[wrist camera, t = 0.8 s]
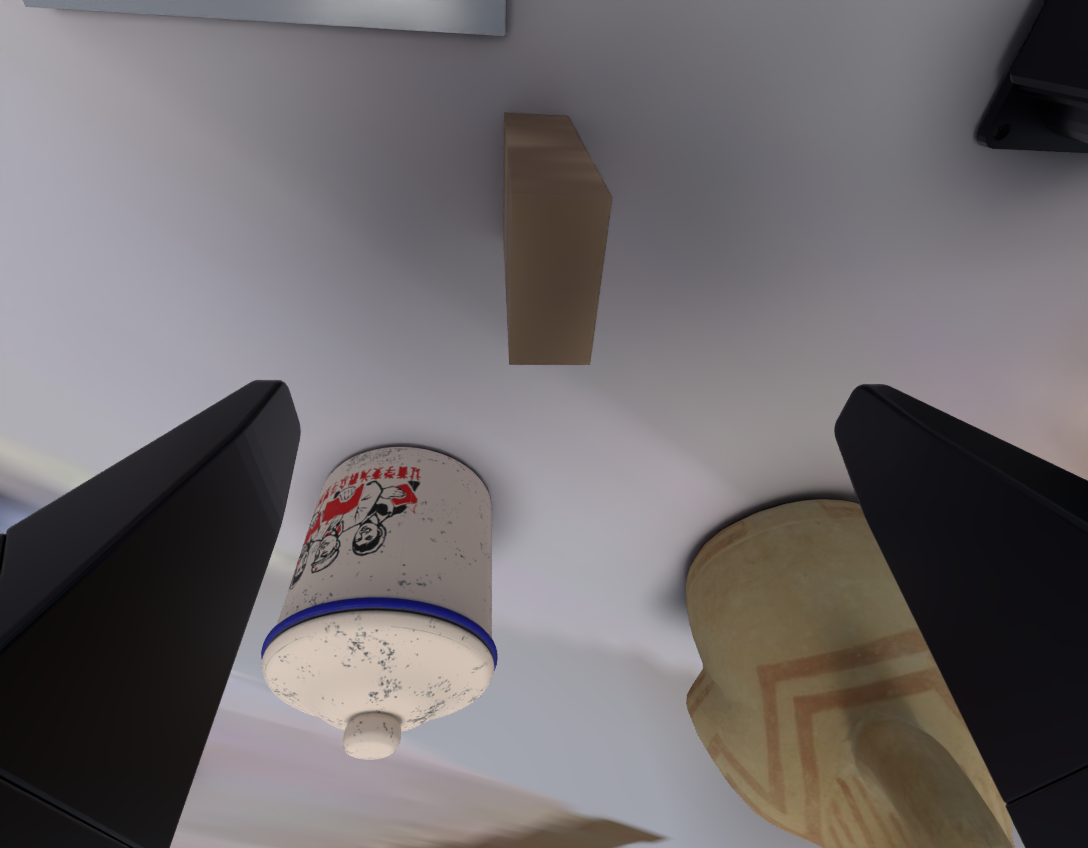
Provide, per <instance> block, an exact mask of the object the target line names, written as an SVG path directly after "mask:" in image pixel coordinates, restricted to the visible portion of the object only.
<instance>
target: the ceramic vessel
mask: <svg viewBox="0 0 1088 848" xmlns="http://www.w3.org/2000/svg"><path fill="white" fill-rule="evenodd" d="M686 604H687V612H688V618H689V623H690V627H691V631H692V634H693V638H694V641H695V644H696V646H697V649H698V652H699V655H700V657H701V660H702V662H703V670H702V671H701V673H700V674H699V676H698V677H697V679H696V680H695V682H694V684H693V685H692V687H691V688H690V690H689V692H688V694H687V703H686V704H687V708H688V712H689V714H690V717H691V719H692V722H693V724H694V727H695V729H696V732H697V734H698V736H699V738H700V740H701V741H702V743H703V745H704V746H705V748H706V750H707V751H708V753H709V754H710V756H711V758H712V759H713V761H714V762H715V764H716V765H717V767H718V768H719V770H720V771H721V773H722V774H723V776H724V777H725V779H726V780H727V781H728V783H729V784H730V786H731V787H732V788H733V789H734V790H735V791H736V793H737V794H738V795H739V796H740V797H741V798H742V799H743V800H744V801H745V802H746V804H747V805H748V806H749V807H750V808H751V809H752V810H753V811H754V812H755V813H756V814H757V815H759V816H760V817H762V818H763V819H765V820H766V821H768V822H769V823H771V824H773V825H775V826H776V827H778V828H780V829H782V830H784V831H787V832H789V833H791V834H793V835H796V836H798V837H800V838H802V839H805V840H807V841H809V842H812V843H814V844H816V845H819V846H821V847H822V848H1015V846H1014V842H1013V838H1012V820H1011V817H1010V815H1009V813H1008V811H1007V809H1006V807H1005V805H1006V804H1007V803H1005V802H1004V801H1003V800H1002V798H1001V796H1000V794H999V792H998V790H997V788H996V786H995V784H994V782H993V780H992V777H991V775H990V773H989V771H988V769H987V767H986V765H985V763H984V761H983V759H982V757H981V755H980V753H979V751H978V749H977V747H976V745H975V743H974V741H973V739H972V737H971V734H970V732H969V730H968V728H967V726H966V724H965V722H964V720H963V718H962V716H961V714H960V712H959V710H958V708H957V706H956V704H955V702H954V700H953V698H952V696H951V694H950V691H949V689H948V687H947V685H946V683H945V681H944V679H943V677H942V675H941V673H940V671H939V669H938V667H937V665H936V663H935V661H934V659H933V657H932V655H931V653H930V651H929V648H928V646H927V644H926V642H925V640H924V638H923V636H922V634H921V632H920V630H919V628H918V626H917V624H916V622H915V620H914V618H913V616H912V614H911V612H910V610H909V608H908V605H907V603H906V601H905V599H904V597H903V595H902V593H901V591H900V589H899V587H898V585H897V583H896V581H895V579H894V577H893V575H892V573H891V571H890V569H889V567H888V565H887V562H886V560H885V558H884V556H883V554H882V552H881V550H880V548H879V546H878V544H877V542H876V540H875V538H874V536H873V534H872V532H871V530H870V528H869V526H868V523H867V521H866V519H865V517H864V515H863V512H862V510H861V507H860V504H857V503H853V502H849V501H844V500H828V499H818V500H804V501H798V502H793V503H787V504H783V505H780V506H776V507H773V508H770V509H767V510H763V511H760V512H757V513H755V514H753V515H751V516H749V517H746V518H744V519H742V520H740V521H738V522H736V523H734V524H732V525H730V526H729V527H727V528H725V529H723V530H721V531H720V532H719V533H718V534H716V535H715V536H714V537H713V538H712V539H710V540H709V541H708V542H707V543H706V544H705V545H704V546H703V547H702V549H701V550H700V552H699V553H698V554H697V556H696V557H695V559H694V560H693V562H692V564H691V566H690V569H689V573H688V576H687V580H686Z"/></svg>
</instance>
